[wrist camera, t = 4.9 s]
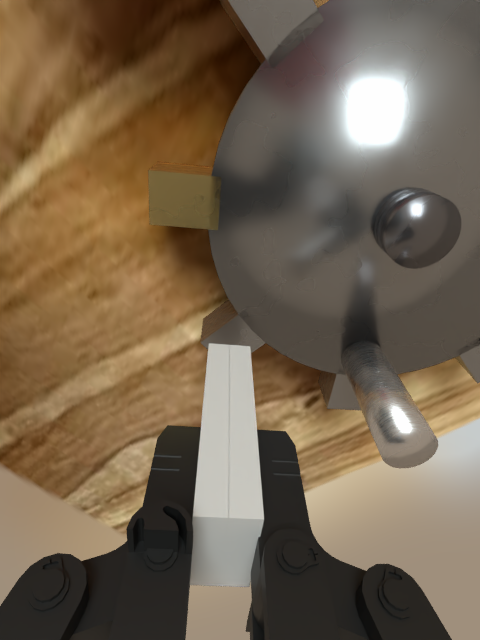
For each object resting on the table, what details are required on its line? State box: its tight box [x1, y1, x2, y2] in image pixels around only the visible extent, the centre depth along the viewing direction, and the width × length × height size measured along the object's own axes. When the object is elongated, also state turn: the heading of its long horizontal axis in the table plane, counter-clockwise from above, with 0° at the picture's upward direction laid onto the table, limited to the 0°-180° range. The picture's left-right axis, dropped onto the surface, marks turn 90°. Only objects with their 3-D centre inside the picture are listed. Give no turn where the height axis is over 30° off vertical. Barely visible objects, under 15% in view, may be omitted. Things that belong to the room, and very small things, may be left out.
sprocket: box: [148, 0, 480, 468], centre depth 12 cm, size 18×18×7 cm
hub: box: [373, 188, 462, 269], centre depth 14 cm, size 6×6×4 cm
